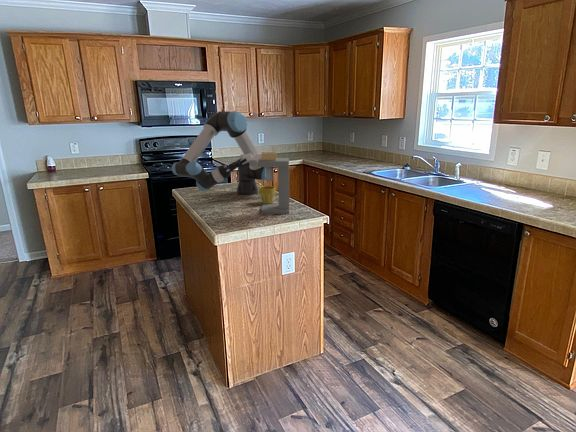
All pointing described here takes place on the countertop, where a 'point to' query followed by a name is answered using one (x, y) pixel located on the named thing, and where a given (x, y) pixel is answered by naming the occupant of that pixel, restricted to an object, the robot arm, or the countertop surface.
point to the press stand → (282, 185)
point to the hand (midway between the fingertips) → (252, 154)
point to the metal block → (262, 156)
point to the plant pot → (267, 194)
